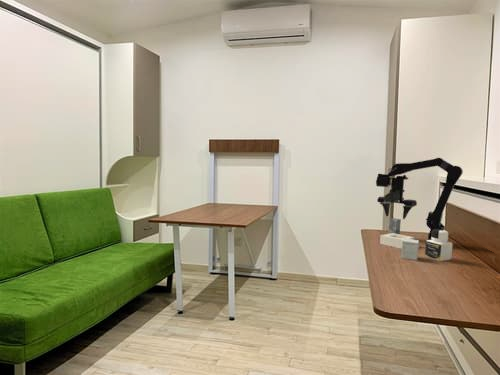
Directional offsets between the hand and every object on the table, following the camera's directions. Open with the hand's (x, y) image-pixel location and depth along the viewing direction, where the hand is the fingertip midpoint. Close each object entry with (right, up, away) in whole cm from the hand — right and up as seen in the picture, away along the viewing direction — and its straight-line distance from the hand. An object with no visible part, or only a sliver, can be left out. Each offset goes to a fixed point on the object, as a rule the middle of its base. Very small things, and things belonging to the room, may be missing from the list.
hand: (395, 217), depth 181 cm
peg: (-1, -11, +1) cm, 11 cm away
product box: (-9, -14, -36) cm, 40 cm away
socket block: (-5, -12, -14) cm, 19 cm away
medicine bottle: (+3, -14, -36) cm, 38 cm away
